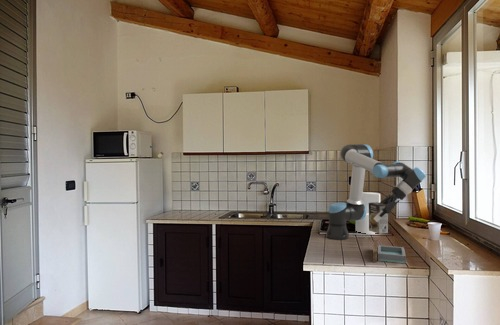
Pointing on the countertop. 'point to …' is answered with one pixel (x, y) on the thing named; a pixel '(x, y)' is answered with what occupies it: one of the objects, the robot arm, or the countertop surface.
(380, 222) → the coffee box
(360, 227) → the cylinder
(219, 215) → the countertop surface
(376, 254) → the board
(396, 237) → the countertop surface
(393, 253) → the tray
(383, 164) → the robot arm
